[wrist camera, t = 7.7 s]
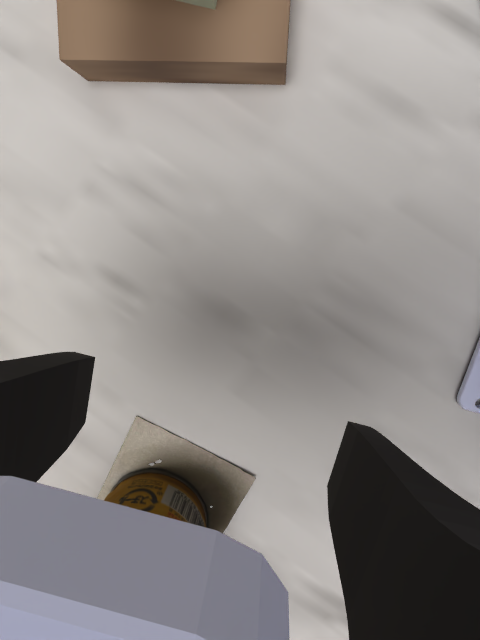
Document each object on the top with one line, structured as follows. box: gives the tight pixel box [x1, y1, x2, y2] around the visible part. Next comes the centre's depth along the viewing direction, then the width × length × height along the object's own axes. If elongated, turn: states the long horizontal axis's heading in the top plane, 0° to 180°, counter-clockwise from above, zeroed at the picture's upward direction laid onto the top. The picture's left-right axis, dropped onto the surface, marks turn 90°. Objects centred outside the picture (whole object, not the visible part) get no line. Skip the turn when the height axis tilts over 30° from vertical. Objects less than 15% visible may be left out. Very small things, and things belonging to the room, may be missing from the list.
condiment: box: [97, 416, 256, 533], centre depth 18 cm, size 7×8×12 cm
